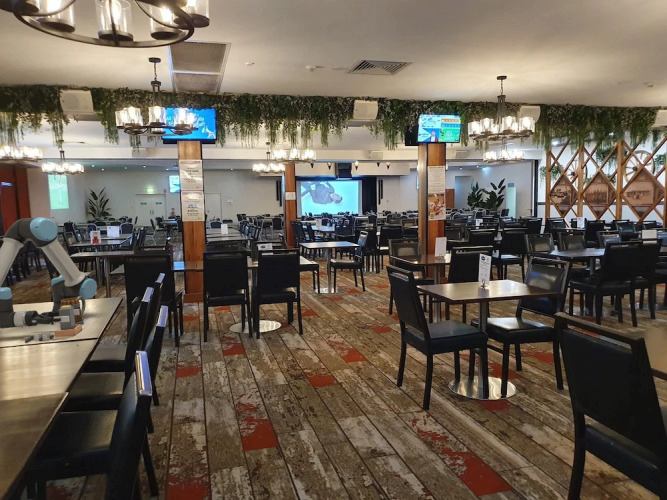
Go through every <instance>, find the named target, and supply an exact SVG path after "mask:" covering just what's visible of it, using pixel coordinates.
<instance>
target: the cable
mask: <svg viewBox="0 0 667 500" xmlns="http://www.w3.org/2000/svg"><path fill="white" fill-rule="evenodd" d="M53 337H54V335H51V336H50V337H49V338H50V339H52V338H53ZM33 338H34V337H33V336H31V337H30V338H28V339H26V340H25V342H24V343H26V344H28V342H29V341H30V340H32V339H33ZM41 340H43V337H41V338H39V341H38V342H42V341H41Z"/></svg>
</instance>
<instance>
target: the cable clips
mask: <svg viewBox="0 0 667 500" xmlns="http://www.w3.org/2000/svg"><path fill="white" fill-rule="evenodd" d="M50 336H51V332H48V333H45V334H44V335H43V333H38V334H37V335H35V336H34V337H35V341H34V342H40V341H39V338H41V337H43V340H44V341H49V340H48V338H49V337H50Z"/></svg>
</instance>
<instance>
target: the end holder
mask: <svg viewBox="0 0 667 500" xmlns="http://www.w3.org/2000/svg"><path fill="white" fill-rule="evenodd" d="M75 326H76V327H75V328H74V329H71V330H61V329H57V330H58V331H54V332H55V337H66V336H74V337H76V336H77V335H78V334H80V333H81V332H82V331H83V330H82V328H83V324H79V325H75ZM80 331H81V332H80Z"/></svg>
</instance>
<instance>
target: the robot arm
mask: <svg viewBox="0 0 667 500" xmlns="http://www.w3.org/2000/svg"><path fill="white" fill-rule="evenodd" d="M58 238H59V235H58V226H57V224H56V223H55V221H54V220H52V219H51V218H47V217H42V216H41V217H33V218H32V217H23V218H20V219H17V220H16V221H15V222H13V223H12V225H10V226H9V228H8V229H7V231H6V232H5V234H4V236H3V238H2V241H3V243H2V245H1V247H0V330H1V329H2V330H4V329H11V328H21V329H23V328H24V327H25V328H26V327H37V325H51V326H52V325H54V324H56V323H57V324H58V323H59V324H60V322H69V316H60V317H59V309H61V308H60V307H61V300H63V299H67V298H69V299H70V298H77V297H84V299H85V300H90V299H91V298H93V297H94V296H95V295H96V293H97V288H98V285H97V282H96V280H95V279H94V278H88V276H87V274H86V273H85V272H83V271H80V270H79V269H78V267H77V266H76V264H75V263H74V261H73V260H72V258H71V257H70V255H69V254H68V252H66V250H65V249H64V247H63V246H62V244H61V243H60V242H59V240H58ZM29 241H31V242H32V244H33V245H34V247H36V248H37V249H41V250H42V251H43V253H44V254H45V256H46V257H47V258H48V259H49V261H50V262H51V264H52V265H53V266H54V268H55V269H56V270H57V272H58V273H59V274H60V277H55V278H52V279H51V282H50V283H51V294H52V301H53V302H52V303H53V305H52V309H51V311H44V312H41V313H39V312H38V311H37V310H22V311H21V310H20V311H15V310H14V305H13V294H12V289H11V288H10V287H1V286H2V285H3V283H4V280H5V279H6V277H7V275H8V273H9V270H10V269H11V267H12V265H13V263H14V260H15V258H16V257H17V254H18V253H19V250H20V249H21V248H23V247H24V246H25V244H26V243H27V242H29ZM74 315H79V309H75V310H74Z"/></svg>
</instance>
